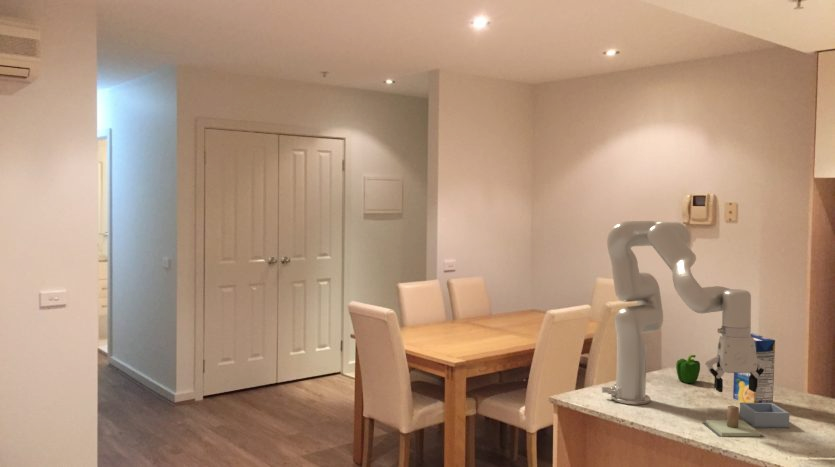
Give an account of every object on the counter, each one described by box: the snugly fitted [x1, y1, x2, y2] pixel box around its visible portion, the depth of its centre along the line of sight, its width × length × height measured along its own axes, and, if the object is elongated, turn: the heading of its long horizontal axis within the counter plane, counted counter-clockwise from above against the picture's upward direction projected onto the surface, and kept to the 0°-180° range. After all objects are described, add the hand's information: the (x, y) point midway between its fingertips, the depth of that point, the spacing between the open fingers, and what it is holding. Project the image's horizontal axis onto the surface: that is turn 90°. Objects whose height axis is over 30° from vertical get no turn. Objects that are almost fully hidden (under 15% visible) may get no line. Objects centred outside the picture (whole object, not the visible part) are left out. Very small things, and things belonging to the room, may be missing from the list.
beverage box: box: [732, 333, 776, 404], centre depth 232 cm, size 7×11×22 cm, turn 11°
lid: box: [705, 405, 762, 436], centre depth 204 cm, size 11×11×7 cm
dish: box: [739, 402, 790, 429], centre depth 211 cm, size 10×10×5 cm
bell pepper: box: [675, 354, 701, 384], centre depth 258 cm, size 8×8×10 cm
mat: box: [702, 422, 765, 438], centre depth 204 cm, size 13×12×1 cm
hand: (735, 390), depth 203 cm, fingers open, 9 cm apart
